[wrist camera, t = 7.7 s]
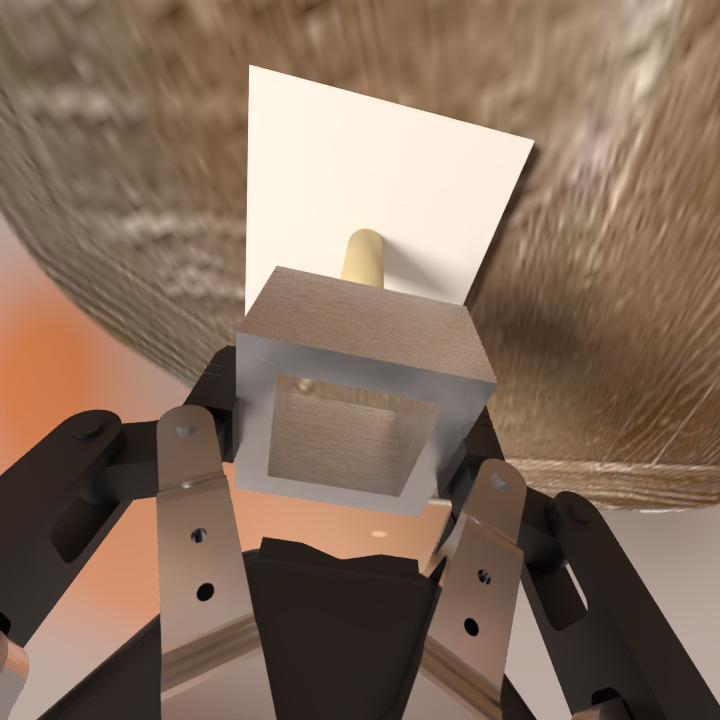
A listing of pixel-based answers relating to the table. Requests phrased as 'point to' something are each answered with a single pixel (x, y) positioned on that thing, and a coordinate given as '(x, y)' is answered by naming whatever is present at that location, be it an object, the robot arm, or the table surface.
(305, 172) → the post board
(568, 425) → the table surface
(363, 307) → the steel collar
